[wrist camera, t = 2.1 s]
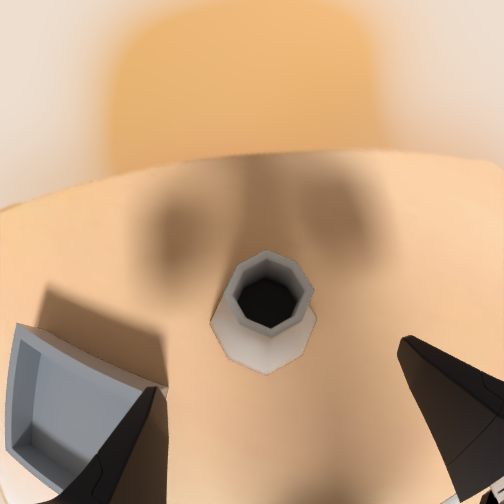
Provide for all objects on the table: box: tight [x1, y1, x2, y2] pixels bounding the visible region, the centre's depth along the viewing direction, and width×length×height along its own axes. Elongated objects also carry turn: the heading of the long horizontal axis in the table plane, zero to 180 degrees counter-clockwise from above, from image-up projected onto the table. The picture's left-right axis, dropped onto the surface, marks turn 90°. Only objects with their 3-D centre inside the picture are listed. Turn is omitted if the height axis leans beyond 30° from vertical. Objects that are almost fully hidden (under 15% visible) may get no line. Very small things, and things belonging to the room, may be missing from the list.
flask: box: [210, 249, 317, 375], centre depth 15 cm, size 7×7×10 cm
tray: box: [5, 323, 168, 494], centre depth 14 cm, size 13×13×4 cm
